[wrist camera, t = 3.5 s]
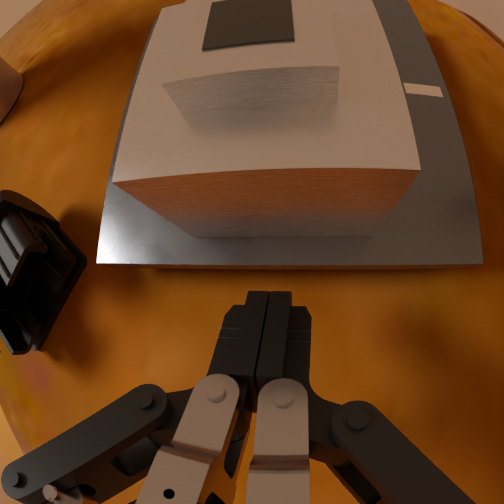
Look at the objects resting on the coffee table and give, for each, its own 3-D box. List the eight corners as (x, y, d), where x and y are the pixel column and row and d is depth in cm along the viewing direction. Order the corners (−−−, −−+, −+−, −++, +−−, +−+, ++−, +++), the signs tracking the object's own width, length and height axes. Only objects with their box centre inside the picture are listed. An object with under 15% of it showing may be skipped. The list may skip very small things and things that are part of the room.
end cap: (49, 206, 22) (-10, 178, 16) (93, 255, 20) (23, 232, 14) (1, 300, 22) (-57, 292, 15) (37, 357, 20) (-29, 361, 13)
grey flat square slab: (111, 267, 18) (96, 262, 16) (162, 29, 21) (155, 17, 20) (470, 268, 14) (483, 263, 12) (404, 13, 18) (407, 0, 16)
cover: (193, 237, 15) (79, 160, 7) (208, 96, 17) (148, -17, 9) (374, 236, 14) (441, 139, 5) (356, 88, 15) (368, -42, 7)
